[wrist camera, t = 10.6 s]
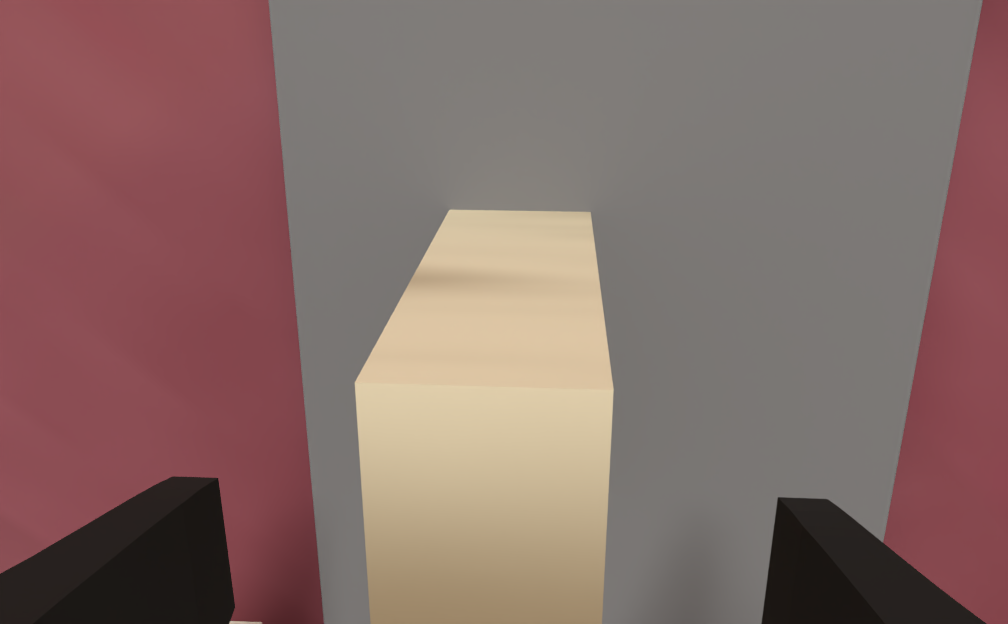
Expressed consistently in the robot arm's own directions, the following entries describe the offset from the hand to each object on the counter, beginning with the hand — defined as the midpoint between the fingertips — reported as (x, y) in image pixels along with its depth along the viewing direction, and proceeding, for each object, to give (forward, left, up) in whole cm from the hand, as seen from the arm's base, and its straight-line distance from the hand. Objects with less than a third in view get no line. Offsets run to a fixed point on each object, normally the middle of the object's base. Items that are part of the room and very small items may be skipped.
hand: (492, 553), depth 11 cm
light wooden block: (0, 0, -5) cm, 5 cm away
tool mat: (0, -2, -5) cm, 6 cm away
